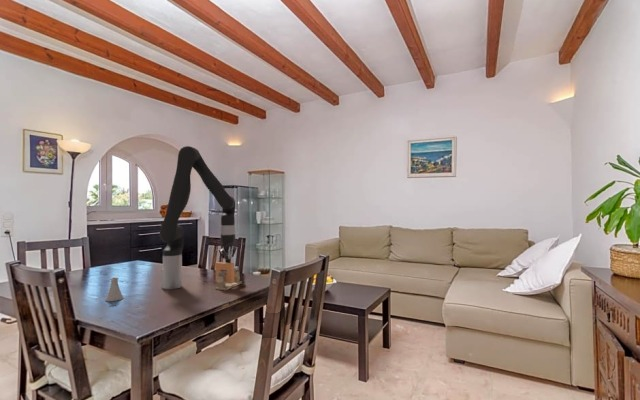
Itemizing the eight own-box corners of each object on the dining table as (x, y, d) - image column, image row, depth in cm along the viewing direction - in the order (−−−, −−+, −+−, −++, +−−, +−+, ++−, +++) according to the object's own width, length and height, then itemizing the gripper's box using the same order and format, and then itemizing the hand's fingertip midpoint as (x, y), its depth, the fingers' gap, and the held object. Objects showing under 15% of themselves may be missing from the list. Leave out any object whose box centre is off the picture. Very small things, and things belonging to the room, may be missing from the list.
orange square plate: (215, 281, 174) (215, 262, 174) (218, 280, 176) (218, 262, 176) (231, 283, 170) (231, 264, 170) (234, 282, 173) (234, 263, 173)
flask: (104, 302, 149) (104, 280, 149) (106, 298, 155) (106, 277, 155) (122, 300, 152) (122, 278, 152) (124, 296, 159) (123, 275, 159)
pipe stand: (225, 290, 169) (225, 271, 169) (215, 289, 171) (215, 271, 171) (241, 283, 183) (241, 266, 183) (232, 282, 185) (232, 265, 185)
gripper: (229, 232, 184) (229, 263, 184) (214, 234, 171) (214, 267, 171) (241, 232, 181) (241, 264, 181) (226, 235, 169) (226, 269, 169)
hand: (228, 265), depth 176 cm, fingers closed
